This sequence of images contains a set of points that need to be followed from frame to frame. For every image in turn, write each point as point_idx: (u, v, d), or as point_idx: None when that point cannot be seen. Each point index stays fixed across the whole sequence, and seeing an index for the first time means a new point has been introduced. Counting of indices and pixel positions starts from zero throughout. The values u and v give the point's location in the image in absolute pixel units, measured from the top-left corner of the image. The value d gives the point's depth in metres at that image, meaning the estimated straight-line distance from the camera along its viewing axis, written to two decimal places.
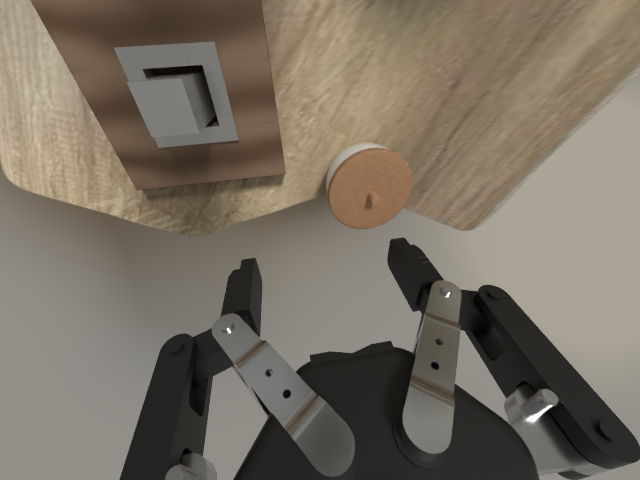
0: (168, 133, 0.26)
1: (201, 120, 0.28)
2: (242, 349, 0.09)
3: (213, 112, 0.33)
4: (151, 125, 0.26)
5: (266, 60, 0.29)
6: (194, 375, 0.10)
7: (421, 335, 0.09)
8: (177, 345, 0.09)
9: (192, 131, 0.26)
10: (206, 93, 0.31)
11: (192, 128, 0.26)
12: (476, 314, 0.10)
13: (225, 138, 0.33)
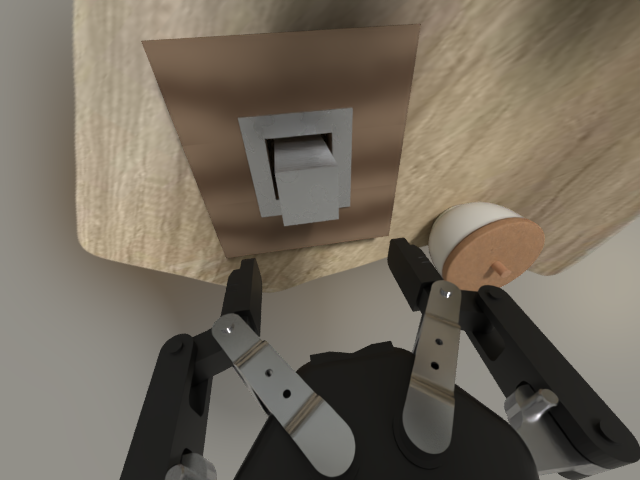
0: (304, 221, 0.22)
1: None
2: (242, 349, 0.09)
3: None
4: (287, 214, 0.21)
5: (402, 124, 0.25)
6: (194, 375, 0.10)
7: (421, 335, 0.09)
8: (177, 345, 0.09)
9: (331, 218, 0.22)
10: None
11: (331, 215, 0.22)
12: (476, 314, 0.10)
13: None
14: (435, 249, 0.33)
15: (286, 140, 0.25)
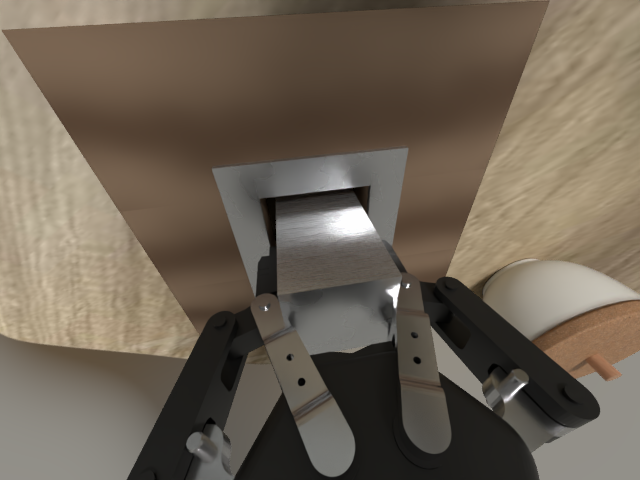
0: (328, 350, 0.12)
1: None
2: (272, 328, 0.10)
3: None
4: None
5: (481, 169, 0.15)
6: (231, 351, 0.10)
7: (397, 333, 0.09)
8: (221, 320, 0.10)
9: (375, 342, 0.13)
10: None
11: (377, 338, 0.13)
12: (433, 304, 0.11)
13: None
14: None
15: None
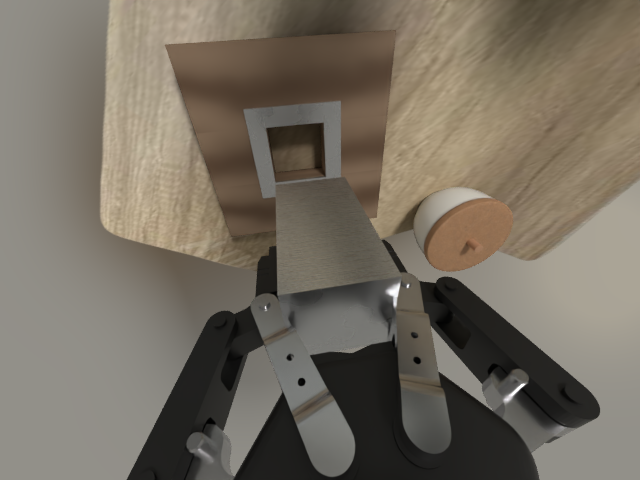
0: (328, 350, 0.12)
1: None
2: (272, 328, 0.10)
3: None
4: None
5: (384, 115, 0.29)
6: (231, 351, 0.10)
7: (397, 333, 0.09)
8: (221, 320, 0.10)
9: (375, 342, 0.13)
10: None
11: (377, 339, 0.13)
12: (433, 304, 0.11)
13: None
14: (418, 229, 0.37)
15: (295, 193, 0.16)
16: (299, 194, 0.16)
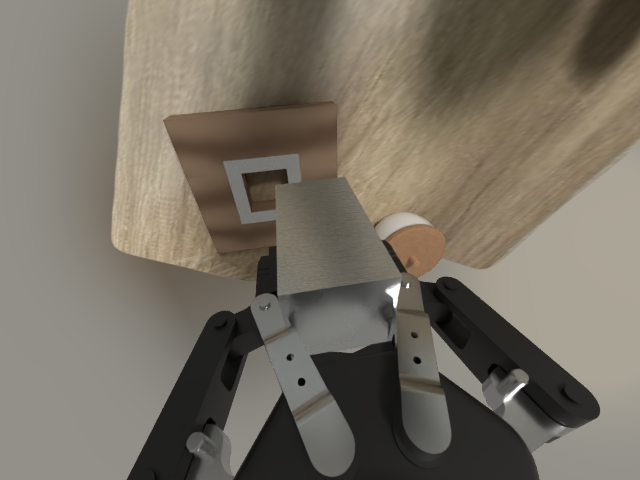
0: (328, 350, 0.12)
1: None
2: (272, 328, 0.10)
3: None
4: None
5: (335, 162, 0.37)
6: (231, 351, 0.10)
7: (397, 333, 0.09)
8: (221, 320, 0.10)
9: (375, 342, 0.13)
10: None
11: (377, 339, 0.13)
12: (433, 304, 0.11)
13: None
14: None
15: (295, 193, 0.16)
16: (299, 194, 0.16)
